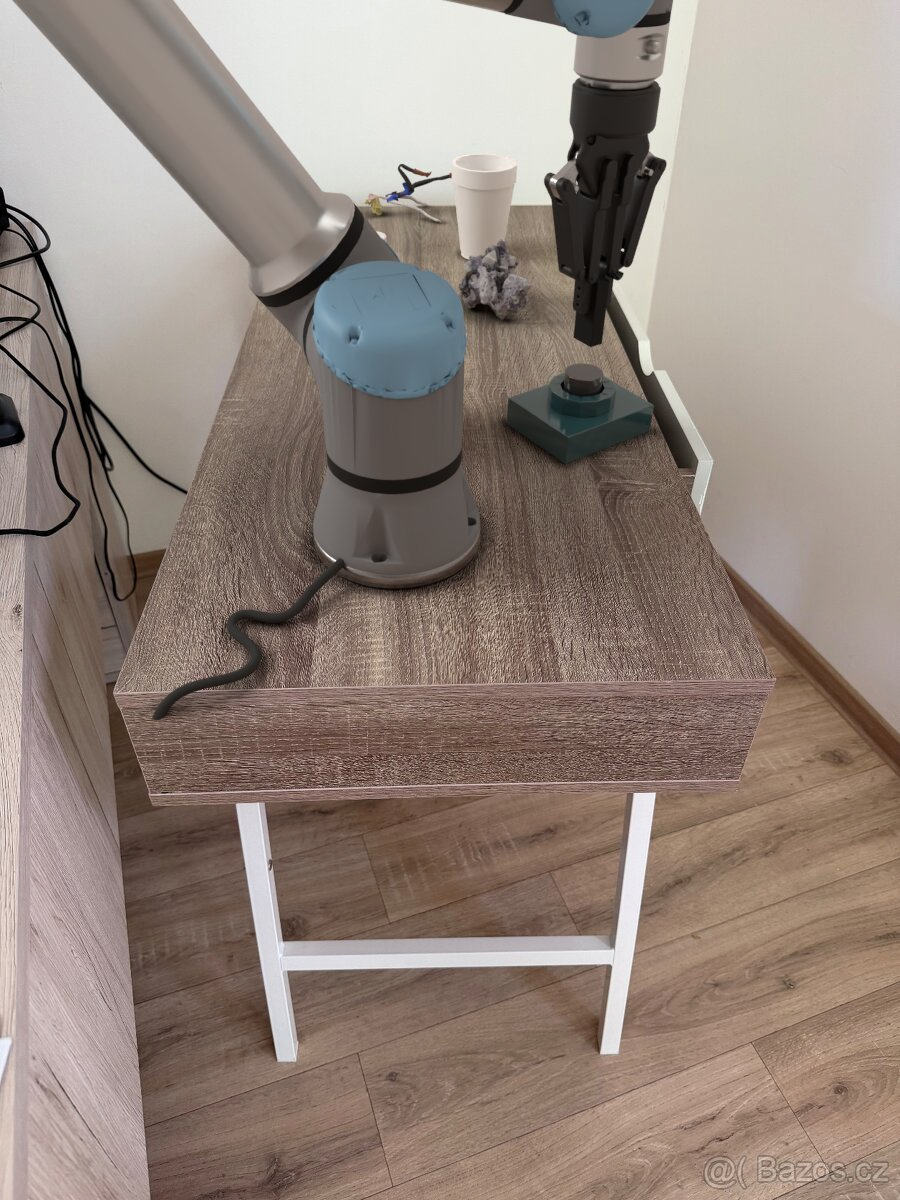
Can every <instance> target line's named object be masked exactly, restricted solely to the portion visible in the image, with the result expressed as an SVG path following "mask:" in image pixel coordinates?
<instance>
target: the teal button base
mask: <svg viewBox="0 0 900 1200" xmlns="http://www.w3.org/2000/svg"><path fill="white" fill-rule="evenodd" d="M564 375H565V372H562V373H560V374H556V375H554V376H553V377H552V379H551V380H549V382H548V384H545V385H542V386H539V387H536V388H533V389H530V390H527V391H524V392H521V393H518V394H515V395H512V396H509V397H507V410H506V411H507V412H506V424H507V425H508V426H509V427H511V428H512V429H514V431H516V432H518V433H519V434H521V435H522V436H524V437H525V438H527V439H528V440H530V441H531V442H533V443H534V444H535V445H537V446H538V447H540V448H542V450H544V451H546V452H547V453H548V454H550V455H551V456H553V457H554V458H556V459H557V460H559V461H560V462H561V463H563V464H565V465H566V464H569V463H572V462H575V461H577V460H579V459H582V458H585V457H588V456H589V455H590V456H591V455H593V454H595V453H598V452H600V451H603V450H605V449H607V448H610V447H613V446H616V445H618V444H621V443H623V442H625V441H629V440H631V439H633V438H636V437H639V436H642V435H644V434H646V433H649V432H650V431H651V427H652V425H651V424H652V419H653V414H654V409H655V408H654V407H655V405H654V404H653V403H651V402H649V401H648V400H646V399H644V398H642V397H641V396H639V395H637V394H635V393H634V392H632V391H630V390H628V389H626V388H625V387H623V386H621V385H620V384H618V383H617V382H615V381H613V380H612V379H610V378H608V377H607V376H605V375H603V380H602V388H601V393H600V394H597V395H594V396H586V397H580V396H576V395H571V394H569V393H567V392H565V391H564V389H563V385H564Z"/></svg>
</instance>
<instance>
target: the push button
mask: <svg viewBox="0 0 900 1200" xmlns="http://www.w3.org/2000/svg"><path fill="white" fill-rule="evenodd" d="M564 373H565V375H564V385H563V389H564V391H565V392H567V393H569V394H571V395H576V396H580V397H586V396H594V395H597V394H600V393H601V388H602V380H603V376H604V371H603V370H602V368H601V367H599V366H597V365H595V364H594V365H593V364H590V363H584V362H583V363H582V362H581V363H574V364H570V365H568V366H566V368H565V369H564Z"/></svg>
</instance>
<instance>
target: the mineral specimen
mask: <svg viewBox="0 0 900 1200" xmlns="http://www.w3.org/2000/svg"><path fill="white" fill-rule="evenodd" d="M519 263H520V261H519V260H517V257H516V256H514V255H512V254H511V253H509V249H508V248H507V245H506V240H505V241H503V240H502V239H499V241H498V243H497V245H496V246H495V245H492V246H491V247H487V248H486V250H485V255H483V256H482V255H479V256H475V257H474V256H471V255H470V256H469V259H468V261H466V262H465V263H464V264H463V275H462V278H461V280H460V281H461V282H460V283H459V284H458V286H457V287H458V291H459V297H461V298H462V301H463V304H464V305H465V306H466V307H467V308H468V309H473V308H475V307H476V305H479V304H483V305H487V306H489V307H490V308H491V310H492V311H493V312H494V313H495V316H496V317H497V318H499V320H502V321H503V320H504V319H505V318H506V316H508V315H510V313H512V314H516V315H517V314H518V313H519V312H520V311H523V310H524V309H525V308H526V307H527V304H528V302H529V300H530V298H529V295H528V291H529V290H530V289H532V287H533V285H532V283H530V281H529V279H527V278H525V277H521V276H518V275H517V273H516V268H517V267H518V265H519Z"/></svg>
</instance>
